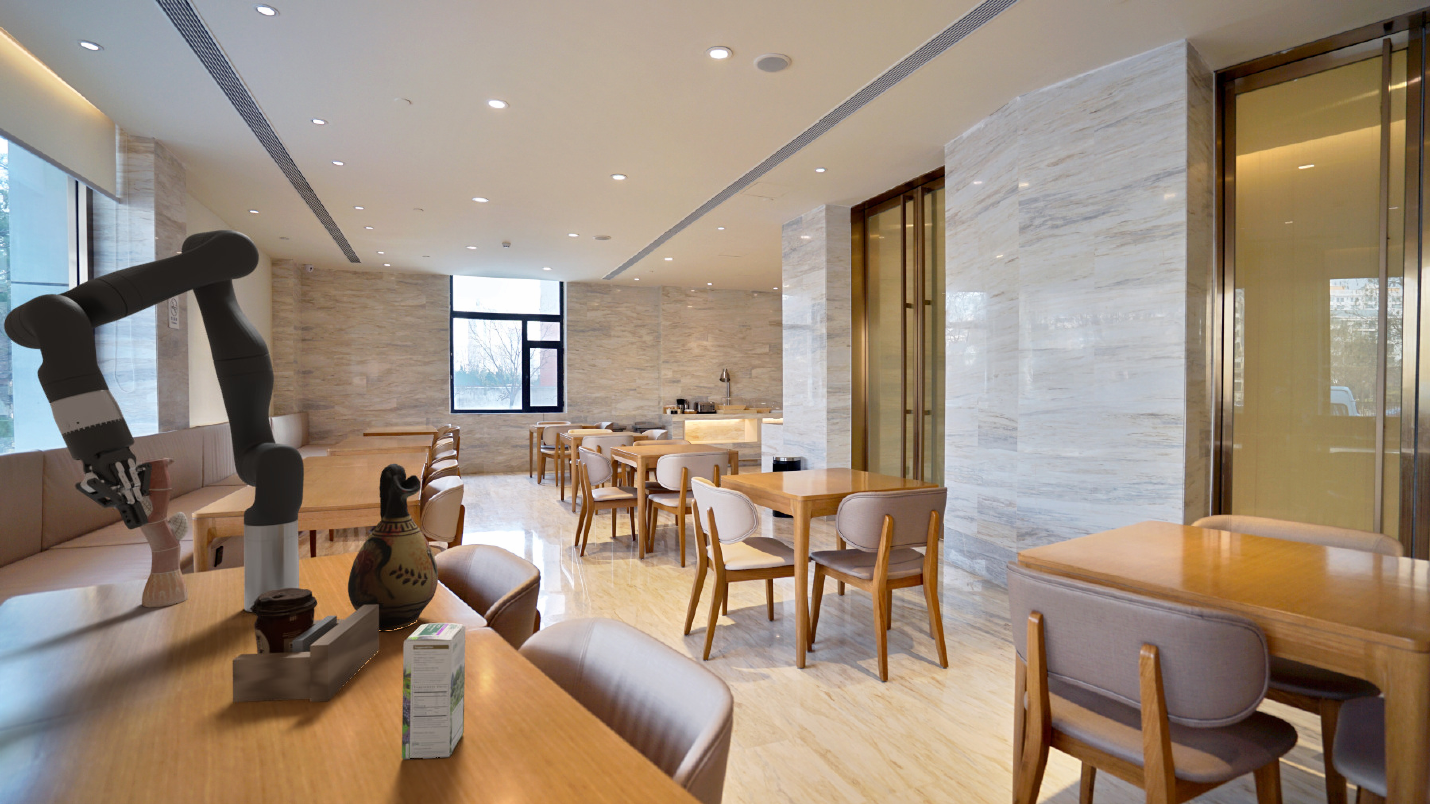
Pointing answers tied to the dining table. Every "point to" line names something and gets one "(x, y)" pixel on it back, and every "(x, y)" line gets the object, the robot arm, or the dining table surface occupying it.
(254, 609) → the coffee cup
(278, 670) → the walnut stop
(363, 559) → the ceramic jug
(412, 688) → the syrup box
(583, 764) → the dining table surface
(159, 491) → the vase
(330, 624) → the pad
